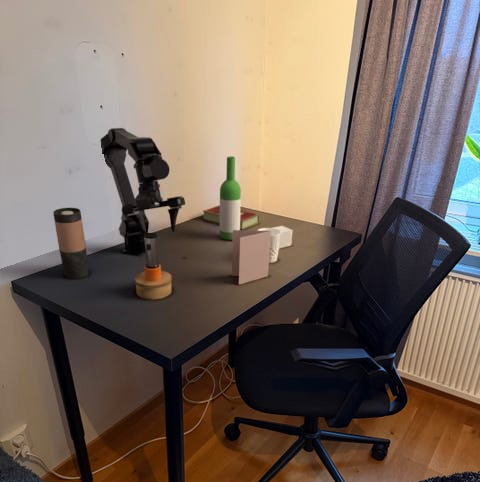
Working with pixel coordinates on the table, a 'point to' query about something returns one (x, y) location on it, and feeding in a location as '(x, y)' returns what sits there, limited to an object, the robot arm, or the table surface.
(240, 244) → the greeting card
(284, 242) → the cream cube
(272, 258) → the white cup
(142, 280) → the birch box
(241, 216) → the hardcover book
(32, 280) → the table surface
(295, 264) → the table surface
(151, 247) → the torch
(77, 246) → the travel mug
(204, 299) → the table surface
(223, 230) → the wine bottle
